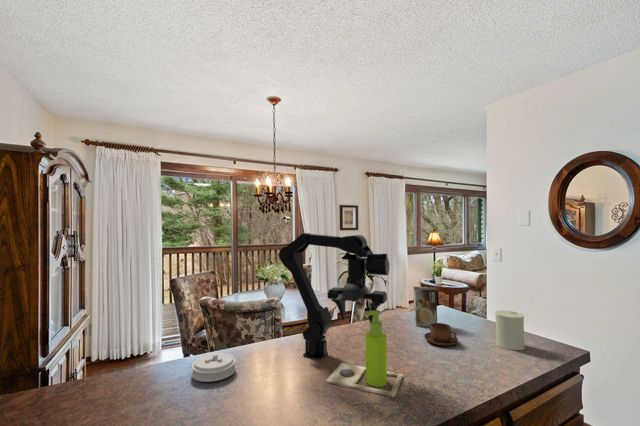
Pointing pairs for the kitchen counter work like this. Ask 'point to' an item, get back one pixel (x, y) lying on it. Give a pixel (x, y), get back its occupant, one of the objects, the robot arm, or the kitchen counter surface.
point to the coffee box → (425, 306)
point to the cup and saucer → (441, 335)
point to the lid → (213, 367)
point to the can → (510, 330)
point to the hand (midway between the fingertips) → (357, 321)
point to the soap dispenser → (376, 352)
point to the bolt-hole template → (351, 375)
